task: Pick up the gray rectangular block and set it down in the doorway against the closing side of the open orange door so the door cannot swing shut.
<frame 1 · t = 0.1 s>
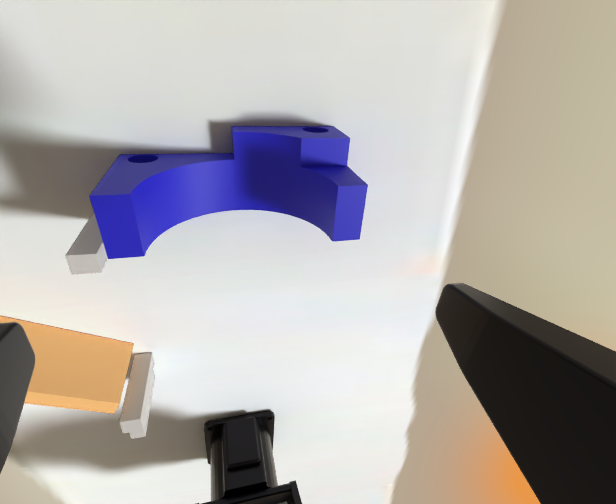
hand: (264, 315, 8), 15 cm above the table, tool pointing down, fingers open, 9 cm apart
cable clip: (233, 163, 21), on the table
door frame: (142, 350, 26), on the table
door: (38, 366, 21), point 3 cm above the table, hinge at 63.0°
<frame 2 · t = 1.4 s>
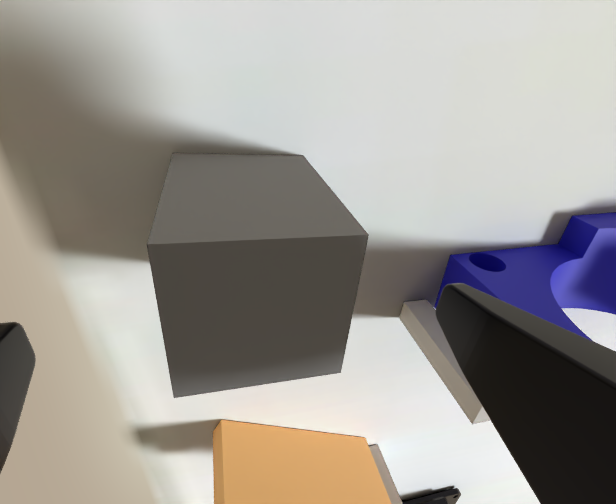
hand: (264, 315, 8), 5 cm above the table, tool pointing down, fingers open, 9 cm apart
cable clip: (545, 252, 17), on the table
door frame: (370, 443, 22), on the table
door: (303, 486, 18), point 2 cm above the table, hinge at 63.0°
gray rectangular block: (241, 212, 12), on the table
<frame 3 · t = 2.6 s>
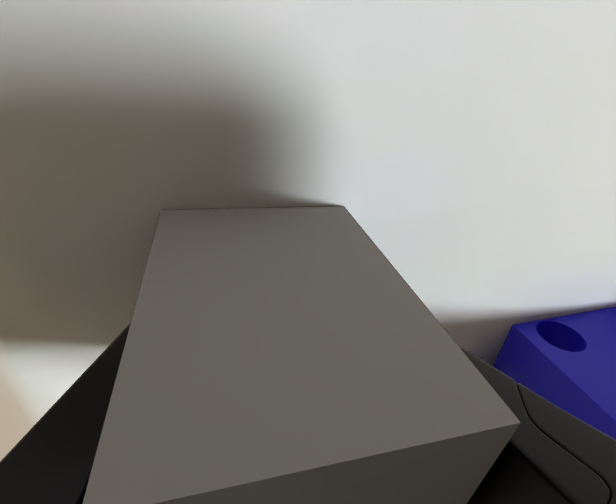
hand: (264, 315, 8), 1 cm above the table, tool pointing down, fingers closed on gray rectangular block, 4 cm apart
gray rectangular block: (257, 281, 9), on the table, touching gripper
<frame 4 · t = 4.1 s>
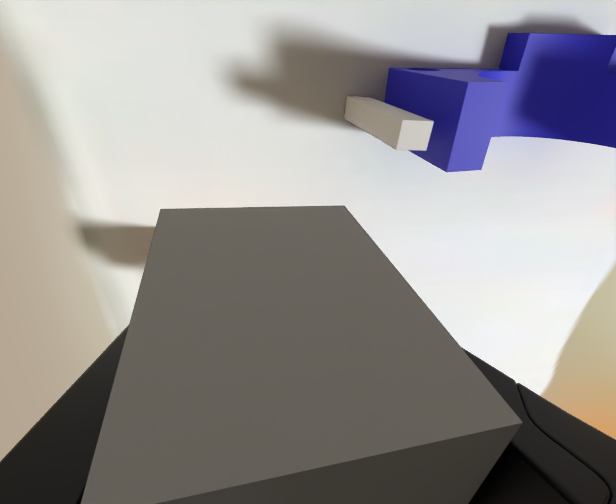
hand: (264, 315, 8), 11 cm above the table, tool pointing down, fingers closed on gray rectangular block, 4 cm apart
cable clip: (488, 84, 18), on the table
door frame: (328, 293, 22), on the table
gray rectangular block: (257, 281, 9), point 10 cm above the table, touching gripper
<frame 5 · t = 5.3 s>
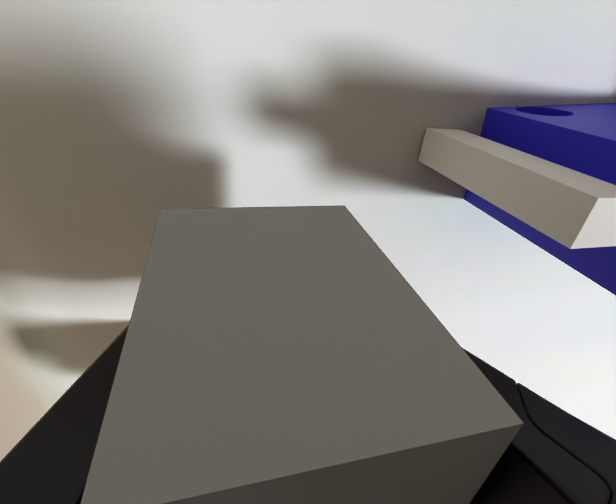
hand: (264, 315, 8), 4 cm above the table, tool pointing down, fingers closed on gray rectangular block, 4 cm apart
cable clip: (615, 122, 13), on the table
door frame: (372, 383, 16), on the table
gray rectangular block: (257, 281, 9), point 3 cm above the table, touching gripper
when the fingers open (2 cm above the table, at t = 6.0 s): gray rectangular block drops 1 cm, on the table.
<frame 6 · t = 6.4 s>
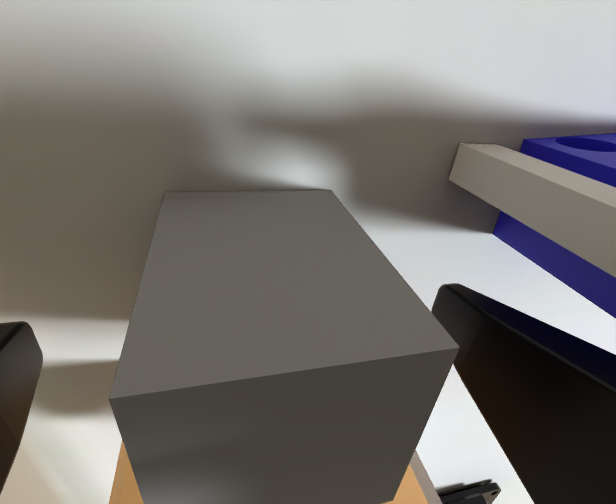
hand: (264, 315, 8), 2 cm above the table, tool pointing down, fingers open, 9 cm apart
door frame: (387, 414, 15), on the table
door: (284, 473, 11), point 2 cm above the table, hinge at 63.0°
gray rectangular block: (252, 259, 9), on the table
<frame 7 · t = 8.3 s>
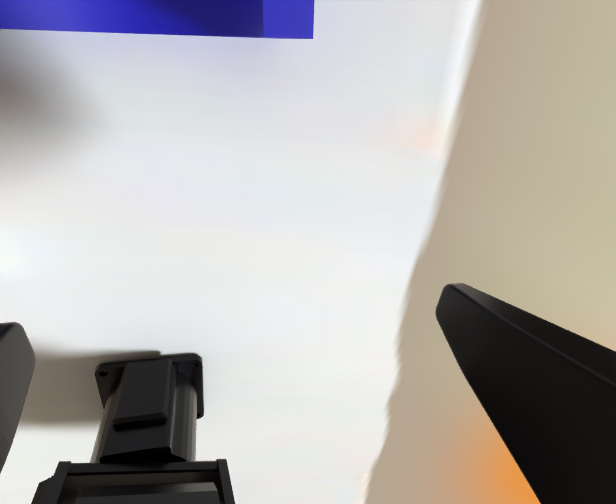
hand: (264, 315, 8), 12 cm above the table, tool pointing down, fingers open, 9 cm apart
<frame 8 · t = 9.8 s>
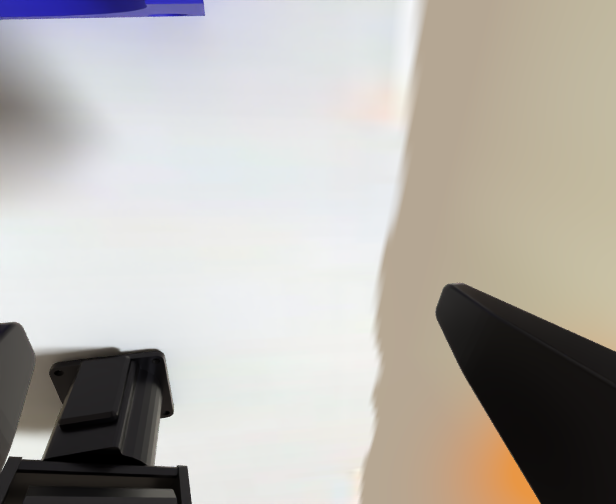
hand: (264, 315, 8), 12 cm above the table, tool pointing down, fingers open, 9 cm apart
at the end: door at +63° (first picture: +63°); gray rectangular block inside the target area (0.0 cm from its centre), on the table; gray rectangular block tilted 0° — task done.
